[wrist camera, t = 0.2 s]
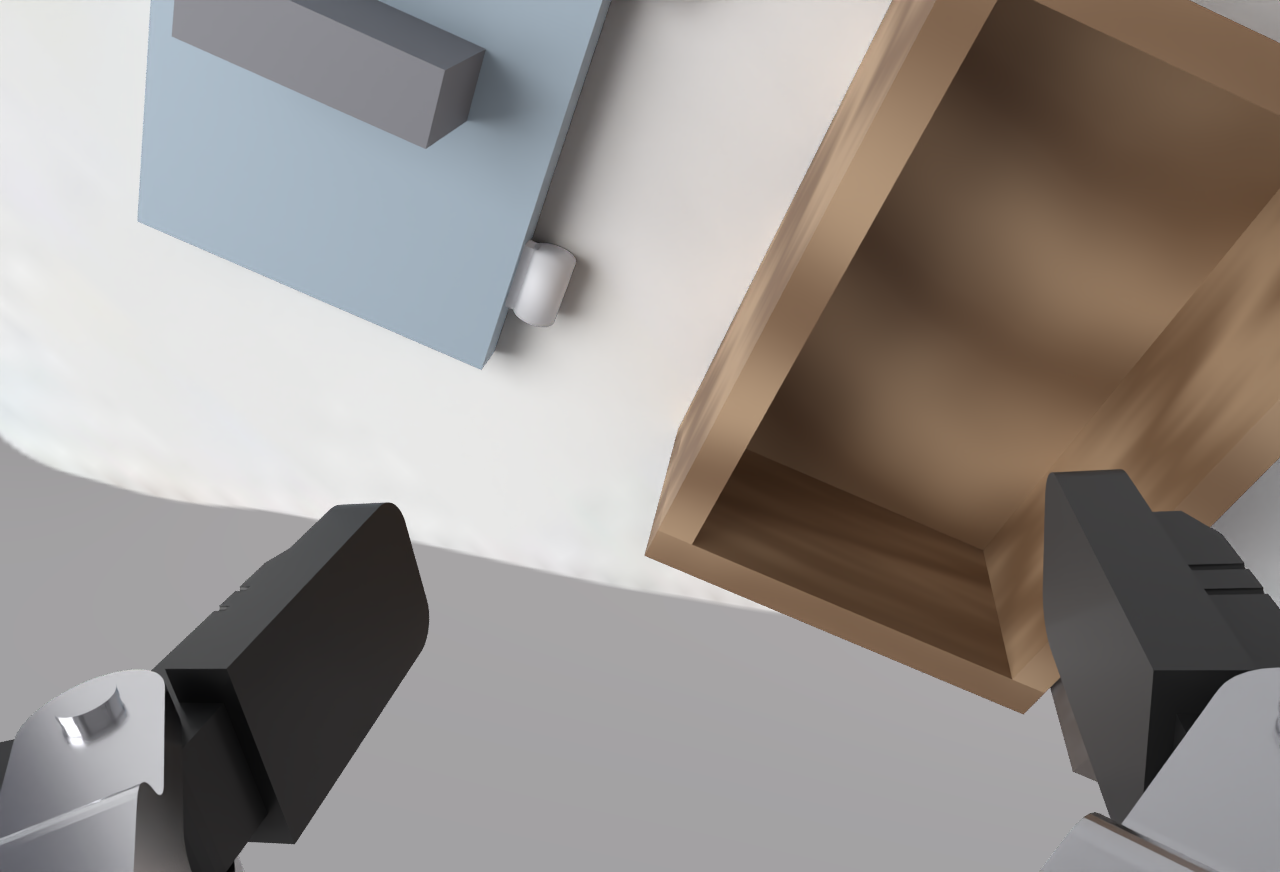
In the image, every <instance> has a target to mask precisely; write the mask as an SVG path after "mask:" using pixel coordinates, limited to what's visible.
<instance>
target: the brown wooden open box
mask: <svg viewBox="0 0 1280 872" xmlns="http://www.w3.org/2000/svg"><path fill="white" fill-rule="evenodd" d="M1279 458H1280V43H1278V42H1276V41H1274V40H1272V39H1270V38H1268V37H1266V36H1264V35H1262V34H1259V33H1257V32H1255V31H1253V30H1251V29H1249V28H1247V27H1245V26H1243V25H1240V24H1238V23H1236V22H1234V21H1232V20H1230V19H1228V18H1226V17H1224V16H1221V15H1219V14H1217V13H1215V12H1213V11H1211V10H1209V9H1207V8H1205V7H1202V6H1200V5H1198V4H1196V3H1194V2H1192V1H1190V0H892V2H891V4H890V6H889V8H888V10H887V12H886V14H885V16H884V18H883V20H882V22H881V24H880V26H879V28H878V30H877V32H876V34H875V36H874V38H873V40H872V42H871V44H870V46H869V48H868V50H867V52H866V54H865V56H864V58H863V60H862V62H861V64H860V66H859V68H858V70H857V72H856V74H855V76H854V78H853V80H852V82H851V84H850V86H849V88H848V90H847V92H846V94H845V96H844V98H843V100H842V102H841V104H840V106H839V108H838V110H837V112H836V114H835V116H834V118H833V120H832V122H831V124H830V126H829V128H828V130H827V132H826V134H825V136H824V139H823V141H822V143H821V145H820V147H819V149H818V151H817V153H816V155H815V157H814V159H813V161H812V163H811V165H810V167H809V169H808V171H807V173H806V175H805V177H804V179H803V181H802V183H801V185H800V187H799V189H798V191H797V193H796V195H795V197H794V199H793V201H792V203H791V205H790V207H789V209H788V211H787V213H786V215H785V217H784V219H783V221H782V223H781V225H780V227H779V229H778V231H777V233H776V235H775V237H774V239H773V241H772V243H771V245H770V247H769V249H768V251H767V253H766V255H765V257H764V259H763V261H762V263H761V265H760V267H759V269H758V271H757V273H756V275H755V277H754V279H753V281H752V283H751V285H750V287H749V289H748V291H747V293H746V295H745V297H744V299H743V301H742V303H741V305H740V307H739V309H738V311H737V313H736V315H735V317H734V319H733V321H732V323H731V325H730V327H729V329H728V331H727V333H726V335H725V337H724V339H723V341H722V343H721V345H720V347H719V349H718V351H717V353H716V355H715V357H714V359H713V361H712V363H711V365H710V367H709V369H708V371H707V373H706V375H705V377H704V379H703V381H702V383H701V385H700V387H699V389H698V391H697V393H696V395H695V397H694V399H693V401H692V403H691V405H690V407H689V409H688V411H687V413H686V415H685V417H684V419H683V421H682V423H681V425H680V427H679V429H678V432H677V435H676V439H675V443H674V447H673V450H672V454H671V458H670V462H669V466H668V469H667V473H666V477H665V481H664V484H663V488H662V492H661V496H660V499H659V503H658V507H657V511H656V514H655V518H654V522H653V526H652V530H651V533H650V537H649V541H648V545H647V548H646V552H645V556H647V557H649V558H651V559H654V560H656V561H658V562H661V563H663V564H666V565H668V566H670V567H673V568H675V569H678V570H680V571H682V572H685V573H687V574H690V575H692V576H694V577H697V578H699V579H701V580H704V581H706V582H709V583H711V584H713V585H716V586H718V587H721V588H723V589H725V590H728V591H730V592H732V593H735V594H737V595H740V596H742V597H744V598H747V599H749V600H752V601H754V602H756V603H759V604H761V605H764V606H766V607H768V608H771V609H773V610H775V611H778V612H780V613H783V614H785V615H787V616H790V617H792V618H795V619H797V620H799V621H802V622H804V623H806V624H809V625H811V626H814V627H816V628H818V629H821V630H823V631H826V632H828V633H830V634H833V635H835V636H838V637H840V638H842V639H845V640H847V641H850V642H852V643H854V644H857V645H859V646H861V647H864V648H866V649H869V650H871V651H873V652H876V653H878V654H881V655H883V656H885V657H888V658H890V659H892V660H895V661H897V662H900V663H902V664H904V665H907V666H909V667H911V668H914V669H916V670H919V671H921V672H923V673H926V674H928V675H931V676H933V677H935V678H938V679H940V680H943V681H945V682H947V683H950V684H952V685H955V686H957V687H959V688H962V689H964V690H966V691H969V692H971V693H974V694H976V695H978V696H981V697H983V698H986V699H988V700H991V701H993V702H995V703H997V704H1000V705H1002V706H1005V707H1007V708H1010V709H1012V710H1014V711H1017V712H1020V713H1022V714H1024V713H1025V712H1026V711H1027V710H1028V709H1029V708H1030V707H1031V706H1032V705H1033V704H1034V703H1035V702H1036V701H1037V700H1038V699H1039V698H1040V697H1041V696H1042V695H1043V694H1044V693H1045V692H1046V691H1047V690H1048V689H1049V688H1051V692H1052V695H1053V699H1054V703H1055V707H1056V710H1057V714H1058V718H1059V722H1060V725H1061V729H1062V732H1063V736H1064V740H1065V744H1066V747H1067V751H1068V755H1069V759H1070V762H1071V766H1072V770H1073V772H1075V773H1078V774H1081V775H1083V776H1085V777H1087V778H1090V779H1092V780H1095V781H1097V779H1096V776H1095V773H1094V770H1093V767H1092V765H1091V762H1090V759H1089V756H1088V753H1087V750H1086V748H1085V745H1084V742H1083V739H1082V736H1081V734H1080V731H1079V728H1078V725H1077V722H1076V720H1075V717H1074V714H1073V711H1072V708H1071V705H1070V703H1069V700H1068V697H1067V694H1066V691H1065V689H1064V686H1063V683H1062V680H1061V677H1060V675H1059V672H1058V669H1057V666H1056V663H1055V660H1054V658H1053V655H1052V652H1051V649H1050V646H1049V642H1048V638H1047V633H1046V627H1045V620H1044V611H1043V555H1044V516H1045V489H1046V482H1047V478H1048V475H1049V473H1051V472H1070V471H1091V470H1112V469H1123V470H1124V471H1125V472H1126V473H1127V474H1128V476H1129V477H1130V479H1131V480H1132V482H1133V483H1134V485H1135V486H1136V488H1137V489H1138V491H1139V492H1140V494H1141V495H1142V497H1143V498H1144V500H1145V501H1146V503H1147V504H1148V506H1149V507H1150V509H1151V510H1152V512H1159V511H1183V512H1184V513H1186V514H1188V515H1190V516H1191V517H1193V518H1195V519H1196V520H1198V521H1200V522H1202V523H1203V524H1205V525H1207V526H1208V527H1211V526H1212V525H1213V524H1214V523H1215V522H1216V521H1217V520H1218V519H1219V518H1220V517H1221V516H1222V515H1223V514H1224V513H1225V512H1226V511H1227V510H1228V509H1229V508H1230V507H1231V506H1232V505H1233V504H1234V503H1235V502H1236V501H1237V500H1238V499H1239V498H1240V497H1241V496H1242V495H1243V494H1244V493H1245V492H1246V491H1247V490H1248V489H1249V488H1250V487H1251V486H1252V485H1253V484H1254V483H1255V482H1256V481H1257V480H1258V479H1259V478H1260V477H1261V476H1262V475H1263V474H1264V473H1265V472H1266V471H1267V470H1268V469H1269V468H1270V467H1271V466H1272V465H1273V464H1274V463H1275V462H1276V461H1277V460H1278V459H1279ZM1097 782H1098V781H1097Z"/></svg>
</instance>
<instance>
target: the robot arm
mask: <svg viewBox="0 0 1280 872" xmlns="http://www.w3.org/2000/svg"><path fill="white" fill-rule="evenodd" d="M1043 611H1044V620H1045V627H1046V633H1047V638H1048V642H1049V646H1050V649H1051V652H1052V655H1053V658H1054V660H1055V663H1056V666H1057V669H1058V672H1059V675H1060V677H1061V680H1062V683H1063V686H1064V689H1065V691H1066V694H1067V697H1068V700H1069V703H1070V705H1071V708H1072V711H1073V714H1074V717H1075V720H1076V722H1077V725H1078V728H1079V731H1080V734H1081V736H1082V739H1083V742H1084V745H1085V748H1086V750H1087V753H1088V756H1089V759H1090V762H1091V765H1092V767H1093V770H1094V773H1095V776H1096V779H1097V781H1098V784H1099V787H1100V790H1101V793H1102V796H1103V798H1104V801H1105V804H1106V807H1107V810H1108V812H1109V815H1110V818H1111V819H1110V818H1108V817H1105V816H1103V815H1101V814H1099V813H1096V812H1094V813H1090V814H1088V815H1086V816H1085V817H1083V818H1082V819H1081V820H1080V821H1079V822H1078V823H1077V824H1076V825H1075V826H1074V827H1073V828H1072V830H1071V831H1070V832H1069V833H1068V834H1067V836H1066V837H1065V838H1064V840H1063V841H1062V842H1061V844H1060V845H1059V846H1058V847H1057V849H1056V850H1055V851H1054V853H1053V854H1052V855H1051V857H1050V858H1049V859H1048V860H1047V862H1046V863H1045V864H1044V866H1043V867H1042V868H1041V870H1040V871H1039V872H1280V609H1279V607H1278V606H1277V605H1276V603H1275V602H1274V601H1273V600H1272V598H1271V597H1270V596H1269V594H1264V592H1263V587H1262V585H1261V584H1260V583H1259V581H1258V580H1257V579H1256V578H1255V576H1254V575H1253V574H1252V572H1251V571H1250V570H1249V569H1245V567H1244V562H1243V561H1242V560H1241V558H1240V557H1239V556H1238V554H1237V553H1236V552H1235V551H1234V549H1233V548H1232V547H1231V545H1230V544H1229V543H1228V541H1227V540H1226V539H1225V538H1224V536H1223V535H1222V534H1221V533H1219V532H1217V531H1215V530H1214V529H1212V528H1210V527H1208V526H1207V525H1205V524H1203V523H1202V522H1200V521H1198V520H1196V519H1195V518H1193V517H1191V516H1190V515H1188V514H1186V513H1184V512H1183V511H1159V512H1152V510H1151V509H1150V507H1149V506H1148V504H1147V503H1146V501H1145V500H1144V498H1143V497H1142V495H1141V494H1140V492H1139V491H1138V489H1137V488H1136V486H1135V485H1134V483H1133V482H1132V480H1131V479H1130V477H1129V476H1128V474H1127V473H1126V472H1125V471H1124V470H1123V469H1112V470H1091V471H1070V472H1051V473H1049V475H1048V478H1047V482H1046V489H1045V516H1044V555H1043ZM428 627H429V609H428V603H427V599H426V595H425V592H424V588H423V584H422V581H421V577H420V574H419V570H418V566H417V563H416V559H415V556H414V552H413V549H412V545H411V541H410V538H409V534H408V530H407V527H406V523H405V520H404V517H403V515H402V513H401V511H400V510H399V508H398V507H397V506H396V505H394V504H393V503H368V504H347V505H337V506H334V507H333V508H331V509H330V510H329V511H328V512H327V513H326V514H325V515H324V516H323V517H322V518H321V519H320V520H319V521H318V522H317V523H316V524H315V525H314V526H312V528H310V529H309V530H308V531H307V532H306V533H305V534H304V535H303V536H302V537H301V538H300V539H299V540H298V541H297V542H296V543H295V544H294V545H293V546H292V547H291V548H290V549H288V550H286V551H284V552H283V553H281V554H279V555H278V556H276V557H274V558H273V559H271V560H269V561H268V562H266V563H264V565H262V566H261V567H260V568H259V569H258V570H257V571H256V572H255V573H254V574H253V575H252V576H251V577H250V578H249V579H248V580H247V581H245V582H244V583H243V584H242V585H241V586H240V591H235V592H234V593H233V594H232V595H231V596H230V597H229V598H227V600H225V601H224V602H223V603H222V604H221V605H220V610H219V611H214V612H213V613H212V614H211V615H210V616H209V617H207V618H206V619H205V620H204V621H203V622H202V623H201V624H200V625H199V626H198V627H197V628H196V629H195V630H194V631H193V632H192V633H190V635H188V636H187V637H186V638H185V639H184V640H183V641H182V642H181V643H180V644H179V645H178V646H177V647H176V648H175V649H174V650H173V651H172V652H170V653H169V655H167V656H166V657H165V658H164V659H163V660H162V661H161V662H160V663H159V664H158V665H157V666H156V667H155V668H154V669H152V670H151V671H150V670H142V669H133V670H125V671H118V672H114V673H110V674H106V675H103V676H100V677H97V678H94V679H91V680H89V681H86V682H84V683H81V684H79V685H77V686H75V687H73V688H71V689H69V690H67V691H65V692H63V693H62V694H60V695H58V696H57V697H55V698H54V699H52V700H50V701H49V702H47V703H46V704H45V705H43V706H42V707H41V708H39V709H38V710H37V711H36V712H35V713H34V714H33V715H31V716H30V717H29V718H28V719H27V720H26V722H25V723H24V724H23V725H22V726H21V728H20V729H19V731H18V732H17V734H16V736H15V739H14V740H9V741H5V742H0V872H245V871H244V868H243V866H242V864H241V861H240V859H239V857H238V855H239V853H240V852H241V850H242V849H243V848H244V846H245V845H246V844H247V842H264V843H283V844H295V843H296V842H297V840H298V839H299V837H300V835H301V834H302V832H303V831H304V829H305V828H306V826H307V825H308V823H309V822H310V820H311V819H312V817H313V816H314V814H315V813H316V811H317V809H318V808H319V806H320V805H321V803H322V802H323V800H324V799H325V797H326V796H327V794H328V793H329V791H330V790H331V788H332V787H333V785H334V784H335V782H336V781H337V779H338V778H339V776H340V775H341V773H342V771H343V770H344V768H345V767H346V765H347V764H348V762H349V761H350V759H351V758H352V756H353V755H354V753H355V752H356V750H357V749H358V747H359V745H360V744H361V742H362V741H363V739H364V738H365V736H366V735H367V733H368V732H369V730H370V729H371V727H372V726H373V724H374V723H375V721H376V720H377V718H378V717H379V715H380V714H381V712H382V710H383V709H384V707H385V706H386V704H387V703H388V701H389V700H390V698H391V697H392V695H393V694H394V692H395V691H396V689H397V688H398V686H399V684H400V683H401V681H402V680H403V678H404V677H405V675H406V674H407V672H408V671H409V669H410V668H411V666H412V665H413V663H414V662H415V660H416V659H417V657H418V655H419V654H420V652H421V651H422V649H423V647H424V645H425V642H426V638H427V634H428Z"/></svg>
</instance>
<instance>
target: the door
mask: <svg viewBox="0 0 1280 872" xmlns="http://www.w3.org/2000/svg"><path fill="white" fill-rule="evenodd" d="M610 3H611V0H151V6H150V23H149V39H148V56H147V72H146V89H145V105H144V122H143V138H142V155H141V171H140V188H139V204H138V222H140V223H143V224H145V225H147V226H150V227H152V228H154V229H157V230H159V231H161V232H163V233H166V234H168V235H170V236H173V237H175V238H177V239H180V240H182V241H184V242H187V243H189V244H191V245H194V246H196V247H198V248H200V249H203V250H205V251H207V252H210V253H212V254H214V255H217V256H219V257H221V258H224V259H226V260H228V261H231V262H233V263H235V264H238V265H240V266H242V267H244V268H247V269H249V270H251V271H254V272H256V273H258V274H261V275H263V276H265V277H268V278H270V279H272V280H275V281H277V282H279V283H282V284H284V285H286V286H288V287H291V288H293V289H295V290H298V291H300V292H302V293H305V294H307V295H309V296H312V297H314V298H316V299H319V300H321V301H323V302H325V303H328V304H330V305H332V306H335V307H337V308H339V309H342V310H344V311H346V312H349V313H351V314H353V315H356V316H358V317H360V318H363V319H365V320H367V321H369V322H372V323H374V324H376V325H379V326H381V327H383V328H386V329H388V330H390V331H393V332H395V333H397V334H400V335H402V336H404V337H406V338H409V339H411V340H413V341H416V342H418V343H420V344H423V345H425V346H427V347H430V348H432V349H434V350H437V351H439V352H441V353H444V354H446V355H448V356H450V357H453V358H455V359H457V360H460V361H462V362H464V363H467V364H469V365H471V366H474V367H476V368H478V369H481V370H482V368H483V367H484V365H485V364H486V363H487V361H488V360H489V358H490V357H491V355H492V354H493V353H494V351H495V348H496V345H497V342H498V339H499V336H500V333H501V330H502V327H503V324H504V321H505V318H506V315H507V312H508V309H509V308H510V309H513V310H514V313H515V314H516V316H517V317H518V318H520V319H521V320H522V321H524V322H526V323H528V324H531V325H534V326H538V327H548V326H551V325H552V324H553V323H554V321H555V318H556V316H557V313H558V310H559V308H560V305H561V302H562V300H563V297H564V294H565V291H566V289H567V286H568V283H569V281H570V278H571V275H572V272H573V270H574V267H575V264H576V259H575V257H574V256H573V255H572V254H571V253H570V252H569V251H567V250H566V249H564V248H562V247H559V246H557V245H554V244H549V243H539V244H538V243H536V242H534V241H532V237H533V234H534V231H535V228H536V225H537V222H538V219H539V216H540V213H541V210H542V207H543V204H544V201H545V198H546V195H547V192H548V189H549V186H550V183H551V180H552V177H553V174H554V171H555V168H556V165H557V162H558V159H559V156H560V153H561V150H562V147H563V144H564V141H565V138H566V135H567V132H568V129H569V126H570V123H571V120H572V117H573V114H574V111H575V108H576V105H577V102H578V99H579V96H580V93H581V90H582V87H583V84H584V81H585V78H586V75H587V72H588V69H589V66H590V63H591V60H592V57H593V54H594V51H595V48H596V45H597V42H598V39H599V36H600V33H601V30H602V27H603V24H604V21H605V18H606V15H607V12H608V9H609V6H610Z"/></svg>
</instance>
